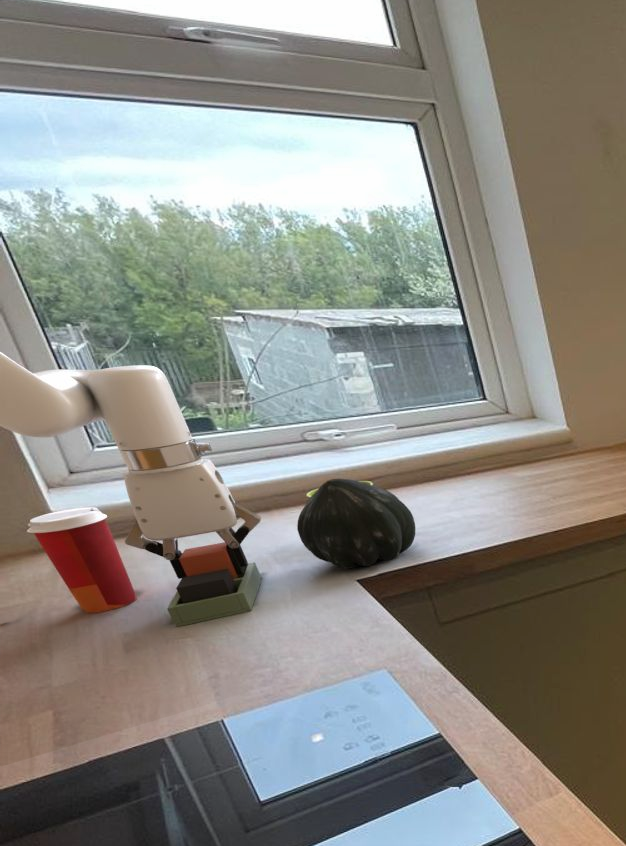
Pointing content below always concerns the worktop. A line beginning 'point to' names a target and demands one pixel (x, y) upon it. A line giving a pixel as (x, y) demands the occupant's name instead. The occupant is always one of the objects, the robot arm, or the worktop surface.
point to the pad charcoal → (206, 586)
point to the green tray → (219, 601)
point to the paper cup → (85, 557)
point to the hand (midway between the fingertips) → (215, 575)
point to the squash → (355, 524)
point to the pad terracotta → (207, 560)
